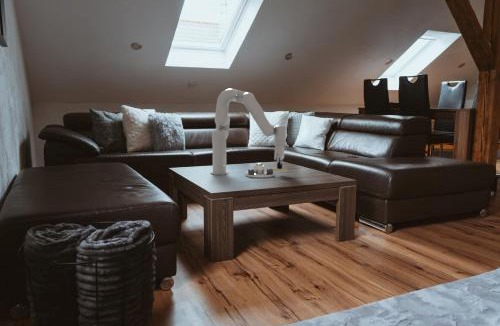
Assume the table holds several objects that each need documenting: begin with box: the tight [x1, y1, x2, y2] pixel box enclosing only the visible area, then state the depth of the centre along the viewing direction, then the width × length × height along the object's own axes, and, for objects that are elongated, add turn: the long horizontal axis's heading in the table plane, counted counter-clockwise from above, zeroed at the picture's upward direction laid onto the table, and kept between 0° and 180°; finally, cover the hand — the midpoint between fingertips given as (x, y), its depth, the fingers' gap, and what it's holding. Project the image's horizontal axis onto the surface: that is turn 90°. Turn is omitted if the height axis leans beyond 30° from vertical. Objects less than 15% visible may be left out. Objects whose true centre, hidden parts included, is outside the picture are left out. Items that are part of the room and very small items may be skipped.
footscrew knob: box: [266, 167, 288, 174], centre depth 273 cm, size 14×4×4 cm, turn 72°
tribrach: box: [244, 162, 275, 179], centre depth 277 cm, size 20×20×9 cm
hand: (279, 169), depth 279 cm, fingers closed
